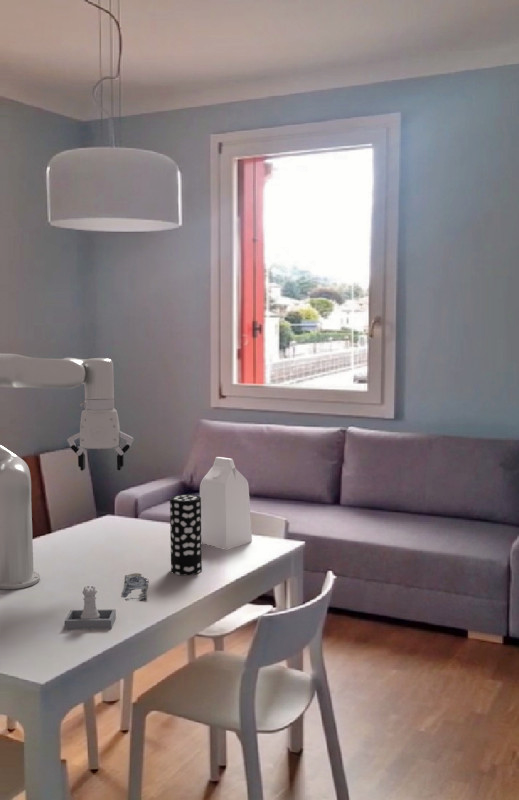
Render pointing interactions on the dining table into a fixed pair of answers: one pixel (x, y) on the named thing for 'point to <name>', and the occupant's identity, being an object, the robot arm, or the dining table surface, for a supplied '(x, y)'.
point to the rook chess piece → (89, 604)
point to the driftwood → (135, 585)
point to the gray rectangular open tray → (90, 620)
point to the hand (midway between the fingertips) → (101, 469)
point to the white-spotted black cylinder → (185, 534)
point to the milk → (225, 506)
